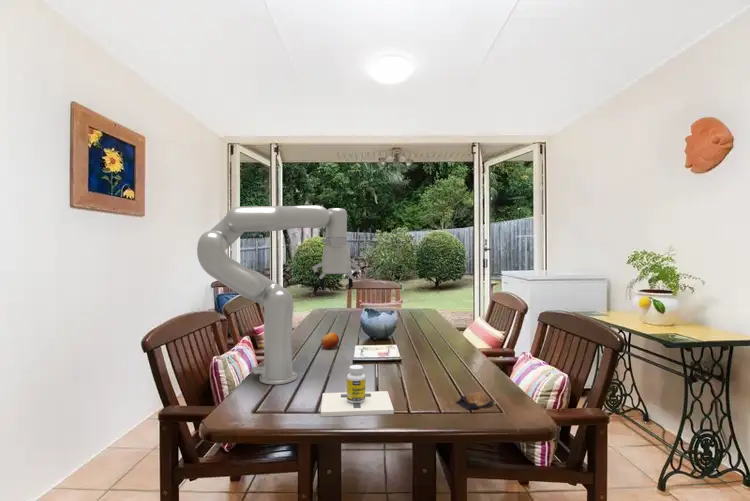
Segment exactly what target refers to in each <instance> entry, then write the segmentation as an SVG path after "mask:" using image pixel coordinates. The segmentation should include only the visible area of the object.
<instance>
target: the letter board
mask: <svg viewBox="0 0 750 501" xmlns="http://www.w3.org/2000/svg"><path fill="white" fill-rule="evenodd" d="M394 412H395V411H394V407H393V403H392V400H391V397H390V395H389V392H388V390H386V391H385V390H384V391H383V390H382V391H381V390H380V391H379V390H378V391H377V390H376V391H365V400H364V401H363V402H361V403H351V402H348V401H347V391H345V392H323V393H322V397H321V408H320V417H322V418H323V417H343V416H345V417H347V416H350V417H351V416H374V415H377V416H378V415H395V413H394Z"/></svg>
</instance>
